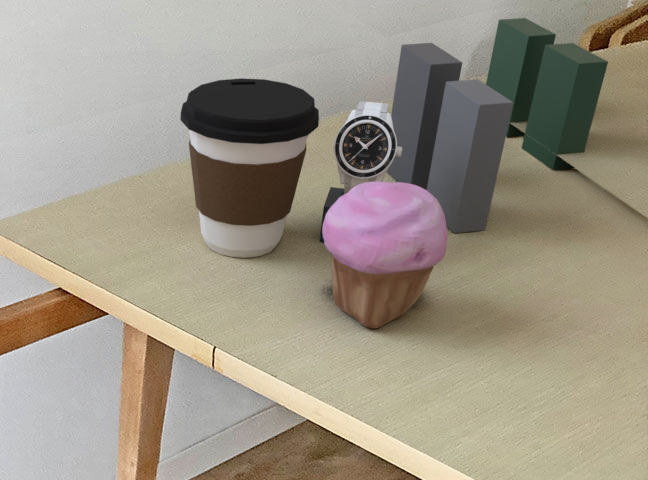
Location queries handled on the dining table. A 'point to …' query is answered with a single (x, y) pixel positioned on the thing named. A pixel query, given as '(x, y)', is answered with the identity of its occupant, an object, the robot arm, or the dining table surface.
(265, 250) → the coffee cup
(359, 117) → the watch
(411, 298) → the cupcake
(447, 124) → the grey books
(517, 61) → the green books
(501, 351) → the dining table surface
